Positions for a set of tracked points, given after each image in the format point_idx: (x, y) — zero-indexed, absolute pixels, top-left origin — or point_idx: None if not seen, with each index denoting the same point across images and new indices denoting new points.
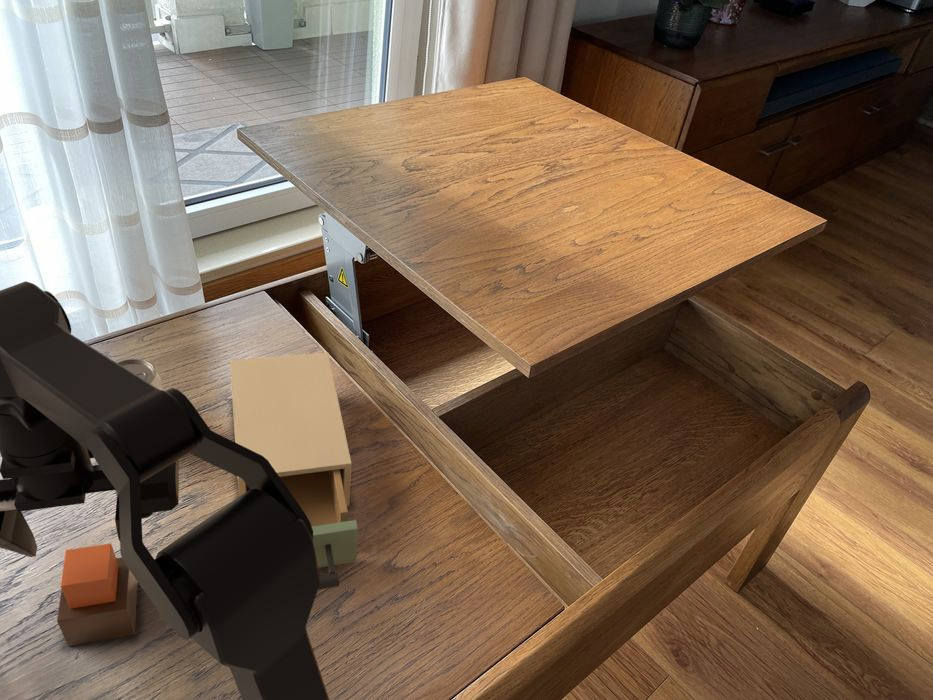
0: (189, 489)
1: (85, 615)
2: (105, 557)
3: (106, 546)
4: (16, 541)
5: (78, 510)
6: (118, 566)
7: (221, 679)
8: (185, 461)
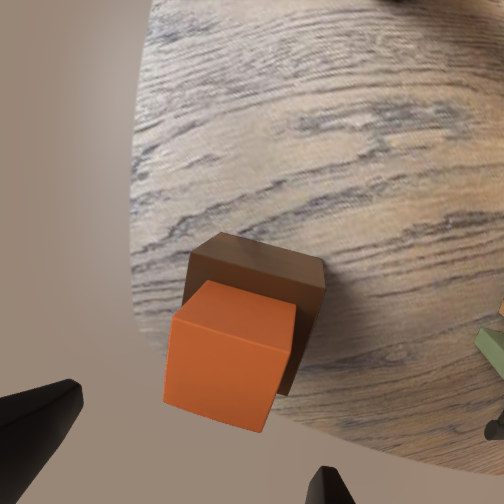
0: (449, 93)
1: None
2: (266, 387)
3: (276, 358)
4: (11, 502)
5: (249, 52)
6: (296, 305)
7: (369, 435)
8: (447, 31)
